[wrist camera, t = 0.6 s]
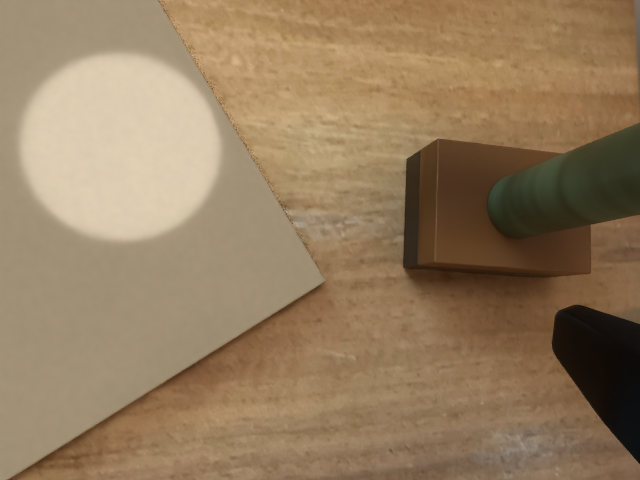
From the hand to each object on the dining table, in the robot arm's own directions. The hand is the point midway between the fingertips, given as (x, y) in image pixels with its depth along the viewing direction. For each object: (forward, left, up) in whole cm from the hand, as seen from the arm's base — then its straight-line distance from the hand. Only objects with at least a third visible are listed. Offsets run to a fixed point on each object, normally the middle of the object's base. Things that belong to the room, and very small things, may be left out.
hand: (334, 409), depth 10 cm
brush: (-5, -11, -15) cm, 19 cm away
